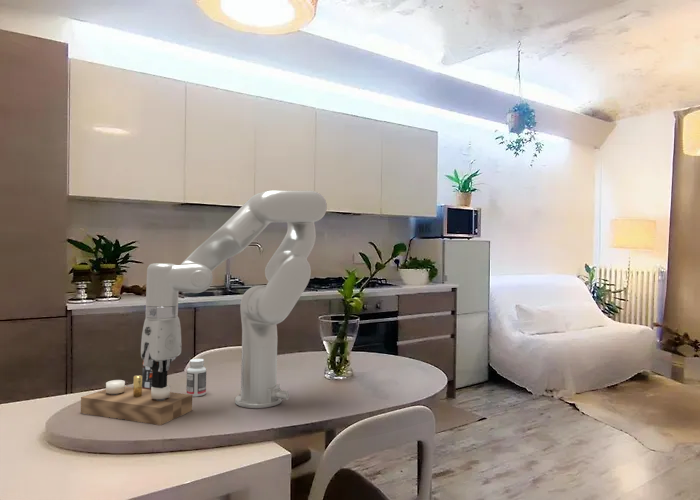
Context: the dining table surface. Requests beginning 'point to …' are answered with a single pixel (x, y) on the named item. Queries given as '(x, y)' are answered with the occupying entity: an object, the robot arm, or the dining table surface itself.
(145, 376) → the supplement bottle
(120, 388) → the knob far
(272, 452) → the dining table surface
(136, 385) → the brass stem
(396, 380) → the dining table surface
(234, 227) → the robot arm
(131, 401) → the mount
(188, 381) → the pill bottle
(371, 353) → the dining table surface
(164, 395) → the knob near
